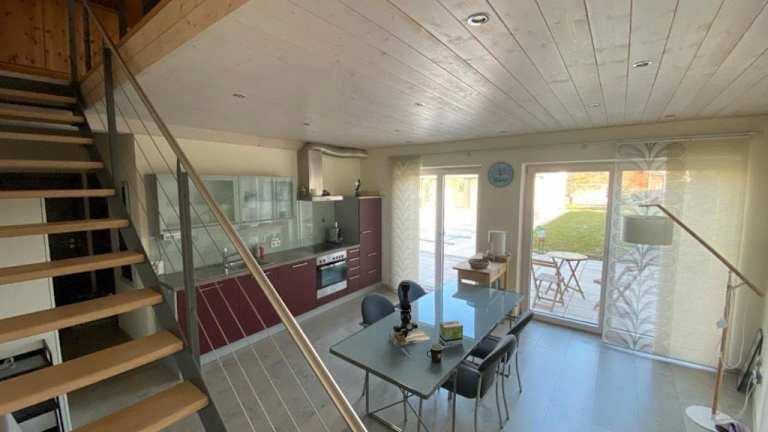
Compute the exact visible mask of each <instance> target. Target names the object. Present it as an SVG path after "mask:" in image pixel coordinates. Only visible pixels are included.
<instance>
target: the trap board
mask: <svg viewBox="0 0 768 432" xmlns="http://www.w3.org/2000/svg"><path fill="white" fill-rule="evenodd" d="M389 340H390V341H391V343H392V344H393V345H394V346H395V347H396V348H397V349H400V348H403V346H406V345H410V344H414V343H419V342H423V341H428V340H431V338H430V337H429V336H428V335H427V334H426V333H425V332H424V331H423V330H418V331H414V332H413V331H412V332H408V335H407V337H406V338H405V342H401V343H399V341H398V340H397V339H396V338H395V337H394V334H392V333H391V332H390V333H389ZM412 341H414V342H412Z"/></svg>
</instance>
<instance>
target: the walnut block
mask: <svg viewBox="0 0 768 432" xmlns="http://www.w3.org/2000/svg"><path fill="white" fill-rule="evenodd" d="M393 336H394V337H395V338H396V339H397V340H398V341H399V343H401V342H405V335H404V334H403V332H402V331H400V332H398V333H396V332H395V333H393Z"/></svg>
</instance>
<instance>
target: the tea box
mask: <svg viewBox="0 0 768 432" xmlns="http://www.w3.org/2000/svg"><path fill="white" fill-rule="evenodd" d="M463 336H464V326H463V324H462V323H460V322H459V320H452V321H444V322H443V321H442V322H439V338H438V339H439V341H440V342H442V344H443V345H444V346H443V347H448V346H456V345H462V344H463V343H464V342H463V338H464V337H463Z"/></svg>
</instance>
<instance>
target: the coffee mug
mask: <svg viewBox="0 0 768 432" xmlns="http://www.w3.org/2000/svg"><path fill="white" fill-rule="evenodd" d="M429 348H430V349H429V350H428V351H427V352H426V356H427V357H429V359H431V362H432V363H434V364H440V363H442V357H443V356H442V355H443V349H444V346H443V345H442V344H440V343H432V344H431V345H430V346H429ZM429 353H430V355H428V354H429Z"/></svg>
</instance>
